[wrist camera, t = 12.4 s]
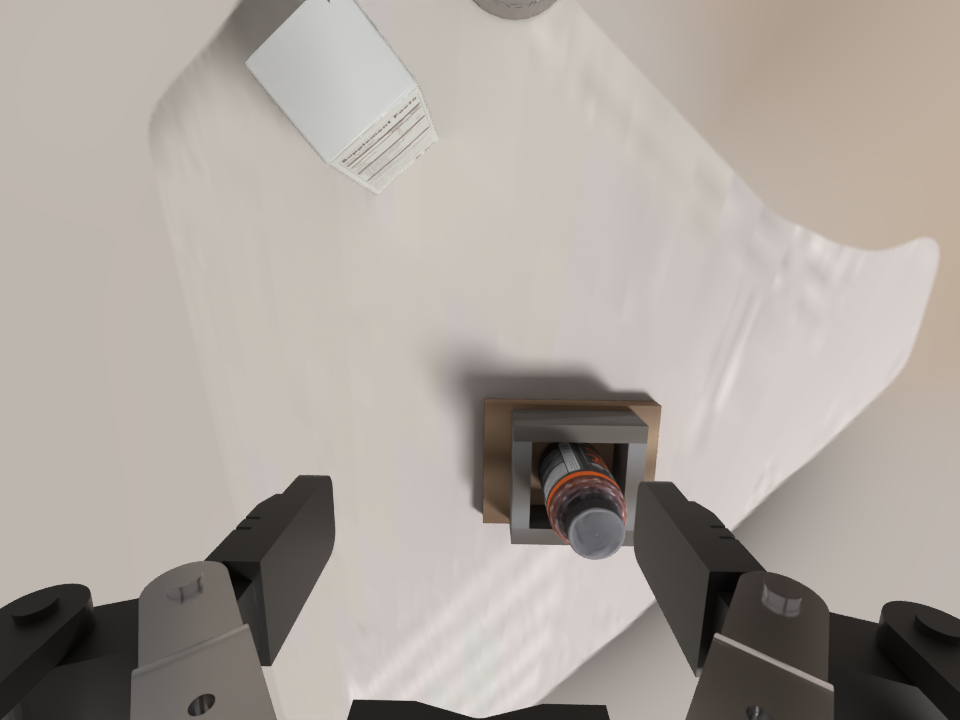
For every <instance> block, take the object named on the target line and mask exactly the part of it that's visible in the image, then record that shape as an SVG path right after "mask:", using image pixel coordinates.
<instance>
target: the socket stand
mask: <svg viewBox="0 0 960 720" xmlns="http://www.w3.org/2000/svg"><path fill="white" fill-rule="evenodd" d="M660 416H661V405H659V404H658V403H657V402H656V401H600V400H531V399H485V408H484V485H483V523H508V524H510V535H511V544H539V545H569V544H567V543H565V542H564V541H562V540H561V539H560V538H559V537H558V536H557V534H556V533H555V532H554V530H553V528H552V526H551V524H550V521H549V517H548V514H547V509H546V505H545V501H544V497H543V493H542V488H541V484H540V480H539V474H538V463H539V459H540V457H541V455H542V453H543V452H544V450H545V449H546V448H547V447H548V446H549V445H550V444H552V443H553V442H575V443H589V444H590V445H591V446H592V447H594V448H595V450H596V451H597V452H598V453H599V455H600V456H601V458H602V460H603V461H604V463H605V465H606V466H607V468H608V470H609V472H610V473H611V475H612V476H613V478H614V480H615V482H616V483H617V485H618V486H619V488H620V490H621V492H622V494H623V496H624V498H625V501H626V505H627V520H626V523H625V526H624V527H625V539H624V542H623V544H622V546H634V543H633V534H634V523H635V512H636V501H637V490H638V486H639V483H640V482H641V481H654V478H655V468H656V457H657V447H658V437H659V426H660Z"/></svg>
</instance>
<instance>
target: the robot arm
mask: <svg viewBox="0 0 960 720" xmlns="http://www.w3.org/2000/svg"><path fill="white" fill-rule="evenodd" d="M475 1H476V3H477V4H478V5H479V6H480V7H482V8H483V9H485V10H486V11H488V12H489V13H491V14H493V15H495V16H498V17H501V18H504V19H513V20H517V19H526V18H529V17H532V16H535V15H538V14H540V13H541V12H543V11H544V10H546V9H547V8H549V7H550V6H551V5H552V4H553V3H554V2H555V1H556V0H475ZM334 541H335V519H334V503H333V487H332V480H331V478H330V476H322V475H299V476H298V477H297V478H296V479H295V480H294V481H293V482H292V483H291V484H290V486H289V487H288V488H287V489H286V490H285V491H284V492H283V493H282V494H275V495H273V496H272V497H270V498H268V499H266V500H265V501H263V502H261V503H260V504H258V505H257V506H256V507H255V508H254V509H253V510H252V511H251V512H250V513H249V514H248V515H247V516H246V519H244V520H243V521H242V522H241V523H240V524H239V525H238V526H237V527H236V530H233V531H232V532H231V533H230V534H229V535H228V536H227V537H226V538H225V539H224V540H223V541H222V543H221V544H220V545H219V546H218V547H217V548H216V549H215V550H214V551H213V552H212V553H211V554H210V555H209V556H208V557H207V558H206V559H205V560H204V561H199V562H193V563H188V564H185V565H182V566H179V567H176V568H174V569H171V570H169V571H167V572H165V573H164V574H162V575H160V576H159V577H157V578H156V579H154V580H153V581H152V582H150V583H149V584H148V585H147V586H146V587H145V588H144V590H143V591H142V593H141V595H140V597H139V598H137V599H133V600H128V601H122V602H117V603H112V604H107V605H102V606H96V607H93V602H92V597H91V593H90V590H89V588H88V587H86V586H84V585H81V584H63V585H56V586H52V587H48V588H45V589H42V590H38V591H36V592H33V593H30V594H28V595H25V596H23V597H21V598H19V599H17V600H15V601H13V602H11V603H9V604H8V605H6V606H4V607H2V608H1V609H0V720H277V719H276V715H275V712H274V709H273V705H272V702H271V698H270V695H269V692H268V688H267V685H266V682H265V678H264V675H263V671H262V668H261V666H271V665H272V664H273V662H274V660H275V658H276V656H277V654H278V652H279V651H280V649H281V647H282V645H283V643H284V641H285V639H286V638H287V636H288V634H289V632H290V630H291V628H292V626H293V625H294V623H295V621H296V619H297V617H298V615H299V613H300V612H301V610H302V608H303V606H304V604H305V602H306V600H307V599H308V597H309V595H310V593H311V591H312V589H313V587H314V586H315V584H316V582H317V580H318V578H319V576H320V574H321V573H322V571H323V569H324V567H325V565H326V563H327V561H328V560H329V558H330V556H331V553H332V550H333V546H334ZM633 543H634V551H635V556H636V559H637V562H638V564H639V566H640V568H641V570H642V572H643V574H644V576H645V578H646V580H647V582H648V584H649V586H650V588H651V590H652V592H653V594H654V596H655V598H656V600H657V602H658V604H659V605H660V608H661V610H662V611H663V613H664V615H665V617H666V619H667V621H668V623H669V625H670V627H671V629H672V631H673V633H674V635H675V637H676V639H677V641H678V643H679V645H680V647H681V649H682V651H683V653H684V655H685V657H686V659H687V661H688V663H689V664H690V667H691V669H692V671H693V672H694V675H695V677H700V678H699V681H698V684H697V687H696V690H695V693H694V696H693V699H692V702H691V705H690V708H689V711H688V713H687V716H686V719H685V720H960V619H958V618H956V617H953V616H952V615H949V614H947V613H945V612H943V611H940V610H938V609H935V608H932V607H929V606H926V605H922V604H918V603H913V602H907V601H892V602H889V603H886V604H885V605H884V606H883V608H882V611H881V616H880V620H879V623H874V622H870V621H866V620H861V619H857V618H853V617H848V616H844V615H839V614H836V613H831V612H829V609H828V607H827V605H826V604H825V602H824V601H823V599H822V598H821V597H820V596H819V595H817V594H816V593H815V592H814V591H813V590H811V589H810V588H808V587H807V586H805V585H803V584H802V583H800V582H798V581H796V580H794V579H791V578H789V577H786V576H783V575H780V574H777V573H772V572H767V571H766V570H765V569H764V568H763V567H762V566H761V565H760V564H759V562H758V561H757V560H756V559H755V558H754V557H753V556H752V555H751V554H750V553H749V552H748V550H747V549H746V548H745V547H744V546H743V545H742V544H741V543H740V542H739V541H738V540H736V539H735V536H734V535H733V534H732V533H731V532H730V531H729V530H728V528H725V525H724V524H723V523H722V522H721V521H720V520H719V519H718V518H717V516H716V515H715V514H714V513H713V512H711V511H709V510H708V509H706V508H705V507H703V506H701V505H700V504H698V503H696V502H695V501H688V500H687V499H686V498H685V496H684V495H683V494H682V493H681V492H680V491H679V489H678V488H677V487H676V486H675V485H674V484H673V483H672V482H661V481H641V482H640V483H639V486H638V490H637V501H636V512H635V523H634V534H633ZM347 720H610V719H609V715H608V711H607V708H606V705H570V704H541V705H537V706H533V707H528V708H524V709H520V710H516V711H512V712H508V713H504V714H499V715H495V716H491V717H487V718H472V717H469V716H465V715H462V714H458V713H455V712H451V711H448V710H444V709H441V708H437V707H434V706H431V705H427V704H424V703H420V702H417V701H392V700H353V702H352V705H351V709H350V712H349V715H348V718H347Z"/></svg>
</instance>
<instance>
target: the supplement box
mask: <svg viewBox="0 0 960 720" xmlns="http://www.w3.org/2000/svg"><path fill="white" fill-rule="evenodd" d="M245 65H246V67H247V68H248V70H249V71H250V72H251V73H252V75H253V76H254V77H255V79H256V80H257V81H258V82H259V84H260V85H261V86H262V87H263V88H264V90H265V91H266V92H267V93H268V95H269V96H270V97H271V98H272V100H273V101H274V102H275V103H276V104H277V106H278V107H279V108H280V109H281V111H282V112H283V113H284V114H285V115H286V117H287V118H288V119H289V120H290V121H291V123H292V124H293V125H294V126H295V127H296V129H297V130H298V131H299V132H300V133H301V135H302V136H303V137H304V138H305V139H306V141H307V142H308V143H309V144H310V146H311V147H312V148H313V149H314V150H315V151H316V153H317V154H318V155H319V156H320V157H321V158H322V160H323V161H324V162H325V163H326V164H327V165H329V166H330V167H332V168H334V169H335V170H337V171H338V172H340V173H342V174H343V175H345V176H346V177H348V178H349V179H351V180H352V181H354V182H356V183H357V184H359V185H361V186H362V187H364V188H365V189H367V190H369V191H371V192H372V193H374V194H376V195H378V194H379V193H380V192H381V191H382V190H383V189H384V188H385V187H386V186H387V185H389V184H390V183H391V182H392V181H393V180H394V179H395V178H396V177H397V176H399V175H400V174H401V173H402V172H403V171H404V170H405V169H407V168H408V167H409V166H410V165H411V164H412V163H413V162H414V161H416V160H417V159H418V158H419V157H420V156H421V155H422V154H423V153H425V152H426V151H427V150H428V149H429V148H430V147H431V146H432V145H434V144H435V143H436V142H437V141H438V140H439V137H438V134H437V132H436V129H435V127H434V124H433V121H432V118H431V116H430V113H429V110H428V107H427V104H426V102H425V99H424V96H423V93H422V91H421V88H420V86H419V84H418V82H417V80H416V79H415V77H414V76H413V75H412V73H411V72H410V71H409V69H408V68H407V67H406V65H405V64H404V63H403V62H402V60H401V59H400V58H399V56H398V55H397V54H396V52H395V51H394V50H393V48H392V47H391V46H390V44H389V43H388V42H387V40H386V39H385V38H384V36H383V35H382V34H381V32H380V31H379V30H378V28H377V27H376V25H375V24H374V23H373V22H372V20H371V19H370V18H369V17H368V16H367V14H366V13H365V12H364V10H363V9H362V8H361V6H360V5H359V4H358V2H357V1H356V0H305V1H304V2H303V3H302V4H301V5H300V6H299V7H298V8H297V9H296V10H295V11H294V12H293V13H292V14H291V15H290V16H289V17H288V18H287V19H286V20H285V21H284V22H283V23H282V24H281V25H280V26H279V27H278V28H277V29H276V30H275V31H274V33H273V34H272V35H271V36H270V37H269V38H268V39H267V40H266V41H265V42H264V43H263V44H261V46H260V47H259V48H258V49H257V50H256V51H255V52H254V53H253V54H252V55H251V56H250V57H249V58H248V59H247V60H246V62H245Z"/></svg>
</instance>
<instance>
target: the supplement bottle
mask: <svg viewBox="0 0 960 720" xmlns="http://www.w3.org/2000/svg"><path fill="white" fill-rule="evenodd" d="M538 474H539V480H540V484H541V488H542V493H543V497H544V501H545V505H546V509H547V514H548V517H549V521H550V524H551V526H552V528H553V530H554V532H555V533H556V534H557V536H558V537H559V538H560V539H561V540H562V541H564V542H565V543H567V544H569V545H571V547H572V548H573V550H574V551H575V552H576V553H577V554H579V555H580V556H582V557H584V558H588V559H593V560H598V559H604V558H607V557H609V556H611V555H613V554H614V553H616V552H617V551H618V550H619V549H620V547H621V546H622V544H623V542H624V539H625V527H624V526H625V523H626V520H627V505H626V501H625V498H624V496H623V494H622V492H621V490H620V488H619V486H618V485H617V483H616V482H615V480H614V478H613V476H612V475H611V473H610V472H609V470H608V468H607V466H606V465H605V463H604V461H603V460H602V458H601V456H600V455H599V453H598V452H597V451H596V450H595V448H594V447H592V446H591V445H590V444H589V443H575V442H553V443H552V444H550V445H549V446H548V447H547V448H546V449H545V450H544V452H543V453H542V455H541V457H540V459H539V463H538Z"/></svg>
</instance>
